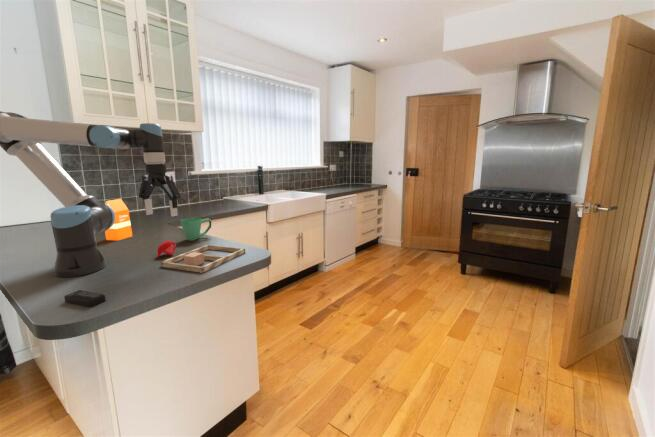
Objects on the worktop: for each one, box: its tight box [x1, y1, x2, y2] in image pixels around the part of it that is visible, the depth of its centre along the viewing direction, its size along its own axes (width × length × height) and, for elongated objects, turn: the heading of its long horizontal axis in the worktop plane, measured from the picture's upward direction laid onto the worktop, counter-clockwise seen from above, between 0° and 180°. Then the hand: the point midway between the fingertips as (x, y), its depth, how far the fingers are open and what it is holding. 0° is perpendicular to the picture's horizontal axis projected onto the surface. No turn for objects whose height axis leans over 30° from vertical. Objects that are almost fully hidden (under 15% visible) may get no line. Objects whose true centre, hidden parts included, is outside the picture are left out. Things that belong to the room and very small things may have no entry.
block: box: [183, 252, 205, 266], centre depth 122 cm, size 5×5×4 cm
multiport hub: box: [63, 289, 107, 308], centre depth 92 cm, size 4×11×2 cm, turn 71°
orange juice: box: [104, 198, 133, 241], centre depth 163 cm, size 8×9×20 cm
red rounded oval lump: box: [156, 240, 177, 258], centre depth 133 cm, size 8×6×6 cm
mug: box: [180, 217, 212, 241], centre depth 160 cm, size 15×10×10 cm
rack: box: [160, 244, 246, 274], centre depth 127 cm, size 25×20×2 cm
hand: (161, 215), depth 132 cm, fingers open, 13 cm apart
